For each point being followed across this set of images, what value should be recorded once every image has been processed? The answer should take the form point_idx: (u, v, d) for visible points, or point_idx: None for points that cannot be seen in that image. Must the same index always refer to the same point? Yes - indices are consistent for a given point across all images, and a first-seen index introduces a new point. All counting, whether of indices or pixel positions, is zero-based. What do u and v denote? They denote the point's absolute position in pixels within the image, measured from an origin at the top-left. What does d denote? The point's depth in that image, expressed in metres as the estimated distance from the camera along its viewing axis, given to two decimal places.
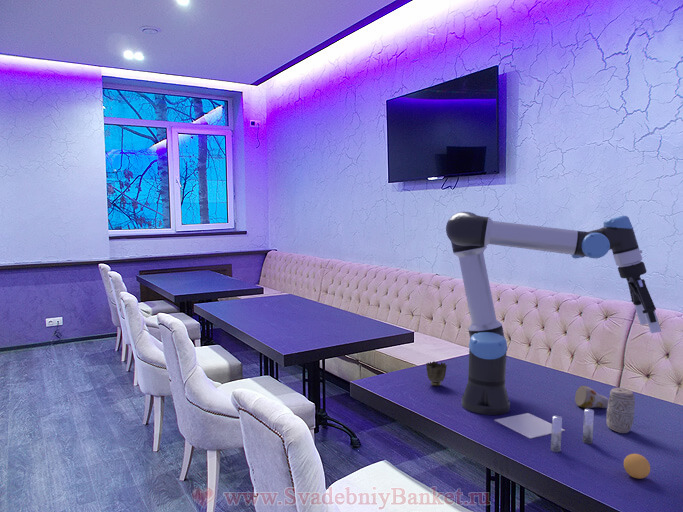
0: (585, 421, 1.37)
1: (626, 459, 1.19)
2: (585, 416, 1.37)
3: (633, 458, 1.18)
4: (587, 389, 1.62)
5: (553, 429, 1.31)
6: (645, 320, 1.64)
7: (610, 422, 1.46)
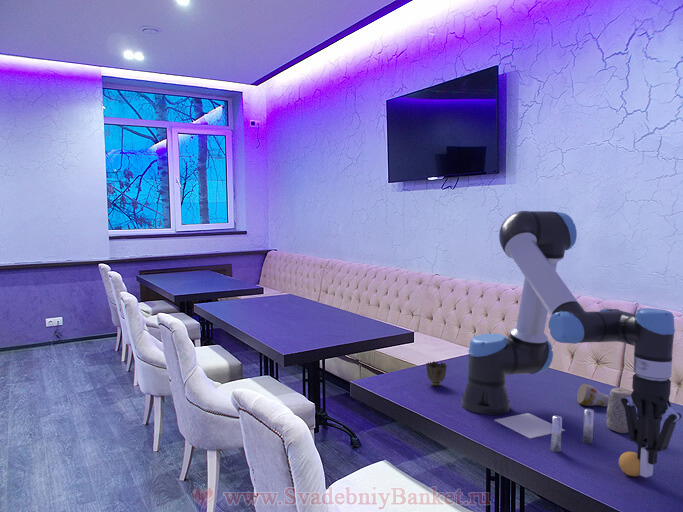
0: (585, 421, 1.37)
1: (620, 458, 1.20)
2: (585, 416, 1.37)
3: (626, 455, 1.19)
4: (587, 387, 1.64)
5: (553, 429, 1.31)
6: None
7: (610, 422, 1.46)
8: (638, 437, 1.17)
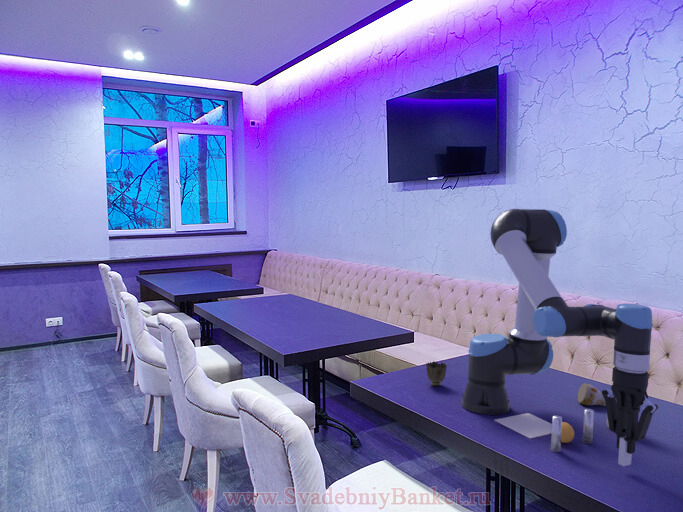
0: (585, 421, 1.37)
1: None
2: (585, 416, 1.37)
3: None
4: (587, 387, 1.65)
5: (553, 429, 1.31)
6: None
7: None
8: (617, 428, 1.21)
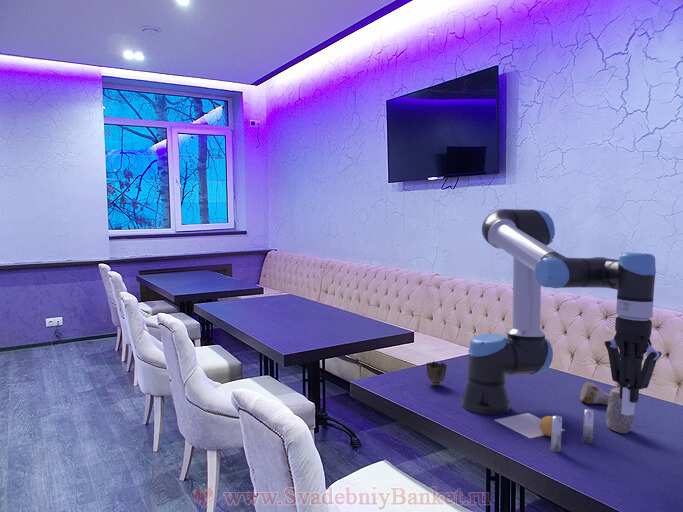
0: (585, 421, 1.37)
1: (544, 433, 1.41)
2: (585, 416, 1.37)
3: None
4: (589, 385, 1.67)
5: (553, 429, 1.31)
6: None
7: (610, 422, 1.46)
8: (621, 378, 1.21)
